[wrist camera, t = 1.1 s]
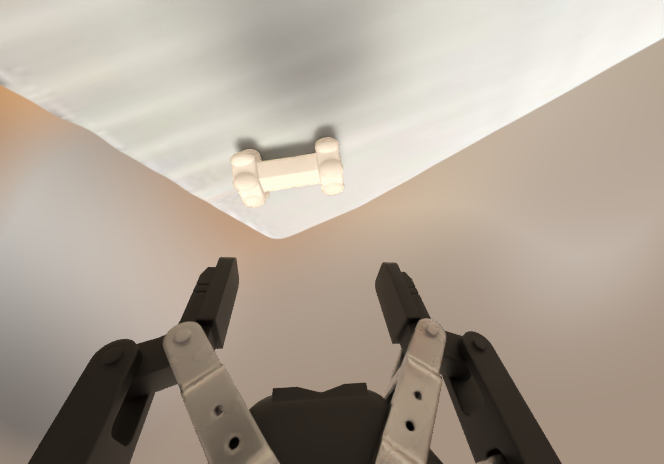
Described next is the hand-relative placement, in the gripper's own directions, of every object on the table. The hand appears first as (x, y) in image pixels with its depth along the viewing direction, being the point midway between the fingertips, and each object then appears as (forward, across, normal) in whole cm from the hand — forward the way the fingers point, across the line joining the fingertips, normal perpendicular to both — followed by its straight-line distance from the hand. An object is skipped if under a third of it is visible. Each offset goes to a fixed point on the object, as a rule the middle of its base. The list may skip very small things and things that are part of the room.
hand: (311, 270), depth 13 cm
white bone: (+29, +2, +4) cm, 29 cm away
